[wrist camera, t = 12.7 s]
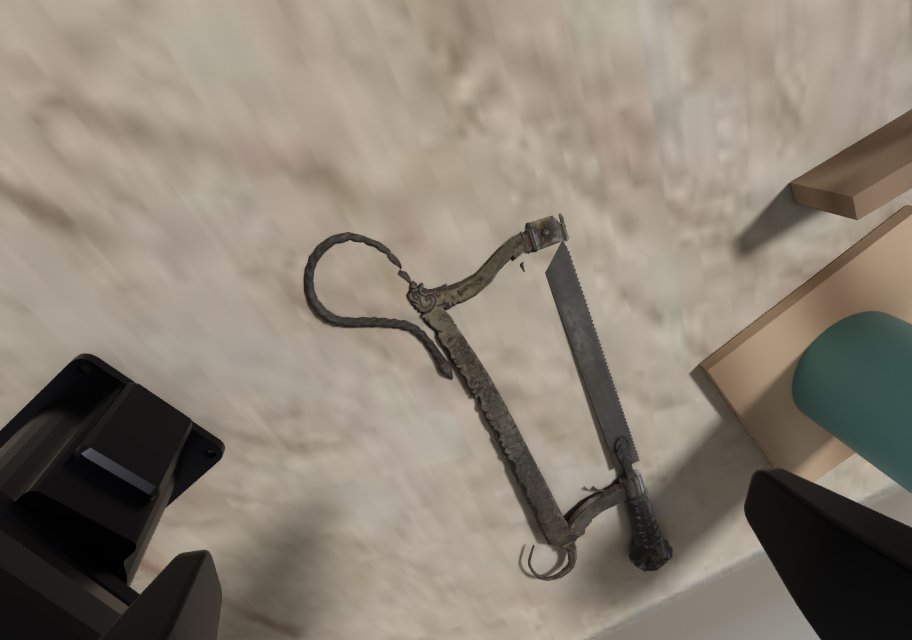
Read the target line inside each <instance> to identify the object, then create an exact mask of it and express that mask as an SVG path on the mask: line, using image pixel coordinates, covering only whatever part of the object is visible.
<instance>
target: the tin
mask: <svg viewBox="0 0 912 640" xmlns="http://www.w3.org/2000/svg"><path fill="white" fill-rule="evenodd" d="M792 396H793V400H794V403H795V405H796V406H797V408H798V409H799V410H800V411H801V412H802V413H803V414H804V415H806V416H807V417H808V418H810V419H811V420H812V421H814V422H815V423H817V424H818V425H819V426H821V427H822V428H823V429H825V430H826V431H827V432H829V433H830V434H831V435H833V436H834V437H836V438H837V439H838V440H840V441H841V442H842V443H844V444H845V445H846V446H848V447H849V448H850V449H852V450H853V451H855V452H856V453H857V454H859V455H860V456H861V457H863V458H864V459H865V460H867V461H868V462H869V463H871V464H872V465H874V466H875V467H876V468H878V469H879V470H880V471H882V472H883V473H884V474H886V475H887V476H888V477H890V478H891V479H893V480H894V481H895V482H897V483H898V484H899V485H901V486H902V487H903V488H905V489H906V490H907V491H909V492H910V493H912V324H911V323H908V322H906V321H904V320H901V319H899V318H897V317H894V316H892V315H890V314H887V313H884V312H880V311H865V312H861V313H856V314H853V315H850V316H848V317H846V318H844V319H841V320H840V321H838V322H836V323H834V324H833V325H832V326H830V327H829V328H827V329H826V330H825V331H824V332H822V333H821V334H820V335H819V336H818V337H817V338H816V339H815V340H814V341H813V342H812V343H811V344H810V346H809V347H808V348H807V350H806V351H805V352H804V354H803V355H802V357H801V359H800V361H799V362H798V365H797V367H796V369H795V372H794V376H793V381H792Z"/></svg>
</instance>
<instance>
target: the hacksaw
mask: <svg viewBox="0 0 912 640" xmlns="http://www.w3.org/2000/svg"><path fill="white" fill-rule="evenodd" d="M559 218H560V222H561V224H560V223H559V222H558V221H557V220H556V219H555V218H554V217H553V216H550V217H547V218H543V219H540V220H537V221H534V222H531V223H527V224H526V230H525V232H523V233H522V231H521V233H520V234H517V235H515V236H512V237H511V238H510V239H509V240H507V241H506V242H505V243H504V244H503V245H502V246H501V247H499V248H498V249H497V250H496V251H495V252H494V253H493V254H492V256H491V257H490V258H489V259H488V260H487V261H486V262H485V263H484V264H483V266H482V267H481V268H480V269H479V270H478V271H477V272H476V273H474V274H473V275H471V276H469V277H467V278H465V279H464V280H462V281H460V282H457V283H454V284H452V285H449V286H447V284H445V285H443V286H441V287H437V288H433V289H426V288H424V287H423V285H424V284H423V283H421V284H419V285H418V287H417V283H416V282H414V281H412V282H411V279H410V277H409V275H408V274H407V272H405V271H401V270H399V272H398V275H399V276H401V277H402V278H403V279H405V280H406V281H407V282H408V283H409V284H410V288H411V289H410V290H409V291H410V292H408V293H407V298H408V299H409V300H410V302H411V304H412V305H413V306H414V308H415V310H416V309H418V312H422V313H421V317H422V318H423V319H424V321H425V323H426V324H427V325H428V326H429V327H430V328H432V329H433V330H434V331H435V333H436V336H435V337H436V338H437V339H438V340H439V342H440V343H441V345H442V347H443V348H444V350H445V352H446V353H447V355H448V357H449V358H450V360H451V362H452V363H453V365H454V367H455V368H456V370H457V372H458V373H459V375H460V377H461V378H462V380H463V382H464V383H465V385H466V387H467V388H468V389H469V391H470V393H471V395H472V397H473V398H478V399H479V402H478V407H479V408H480V410H481V411H483V414H484V417H485V419H486V421H487V423H488V424H489V426H490V428H491V429H492V430H493V431H494V433H495V438H496V441H497V442H498V444H499V446H500V447H501V449H502V451H503V453H502V454H503V457H504V458H505V459H507V460H509V462H510V464H511V468H512V471H513V473H514V475H515V476H516V480H517V482H518V484H519V485H520V487H521V489H522V491H523V494H524V495H525V497H526V499H527V502H528V503H529V505H530V507H531V509H532V511H533V514H534V516H535V518H536V520H537V522H538V524H539V526H540V528H541V530H542V532H543V534H544V536H545V539H546V540H547V543H548V544H552V545H558V546H560V547H561V548H563V549H564V551H565V552H566V554H567V553H568V561H569V562H568V564H567V565H566V566H565V567H564V568H563V569H562V570H561V572H559V573H557V574H555V575H553V576H550V577H543V576H541V575H539V574H537V573H536V572H535V571H534V570H533V568H532V566H531V557H532V553H533V549H534V545H533V547H532V549H531V552H530V555H529V559H528V566H529V568H530V570H531V572H532V573H533V574H534V575H535V576H536V577H537V578H538V579H541V580H546V581H549V580H555V579H558V578H562V577H563V576H565V575H566V574H567V573H569V572H570V571H571V570H572V569H573V568H574V566H575V563H576V560H577V552H576V546H575V543H574V542H575V541H576V540H577V538H578V537H580V536H582V535H583V534H584V533H585V528H586V527H587V526H588V525H589V524H590V523H591V522H592V519H593V518H595V517H596V516H597V515H599V514H600V513H601V512H603V511H604V510H606V509H608V508H611V507H613V506H615V505H617V504H619V503H621V502H623V501H625V500H626V505H627V508H628V513H629V517H630V521H631V526H632V530H633V534H634V541H633V544H632V546H631V550H630V554H629V557H630V560H631V562H633V563H634V565H635V566H637V567H638V568H639V569H641V570H644V572H645V571H655V570H658V569H659V568H660V567H661V566H663V565H664V564H666V562H667V561H668V560H669V559H671V558H672V552H673V551H672V547H671V546H669V543H668V542H667V541H666V540H664V539H663V538H662V536H661V532H660V530H659V526H658V524H657V522H656V520H655V518H654V515H653V512H652V508H651V506H650V503H649V500H648V497H647V493H648V492H647V489H646V488H645V487H644V484H643V480H642V477H641V474H640V473H639V472H638V471H637V470H633V469H632V465H631V464H633V463H635V462H637V461H639V459H638V458H639V457H638V456H637V455H638V454H637V453H636V452H637V451H636V450H635V449H636V448H635V447H634V444H633V441H632V439H633V438H631V436H632V435H631V434H630V431H629V428H628V425H627V422H626V421H625V420H626V419H625V418H624V417H625V415H624V414H623V413H624V412H623V411H622V410H623V409H622V408H621V406H622V405H620V402H619V401H618V400H619V398H618V397H617V396H618V395H617V394H616V393H617V391H615V389H616V388H615V387H614V384H613V381H612V380H611V379H612V377H611V376H610V375H611V374H610V373H609V371H610V370H609V369H608V366H607V365H606V364H607V362H605V360H606V359H605V358H604V356H605V355H604V354H603V351H602V347H600V345H601V344H600V343H599V340H598V336H597V335H596V334H597V332H595V328H594V324H593V323H592V322H593V320H592V319H591V316H590V312H589V311H588V309H589V308H588V307H587V304H586V300H585V299H584V295H583V294H582V293H583V291H582V290H581V288H582V287H581V286H579V285H580V282H578V279H579V278H577V274H576V273H575V271H576V270H575V269H574V265H573V264H572V262H573V261H572V260H571V256H570V255H569V253H570V252H569V251H567V247H566V246H565V244H564V241H563V240H565V241H568V240H569V236H568V234H567V231H566V226H565V224H564V218H563V216H562V215H561V214H559ZM349 240H351V241H353V242H364V243H365V244H367V245H370V246H374V247H375V248H377V249H378V250H379V251H381V252H383V253H386V254H387V257H388V258H389V259H390V260H391V262H392V263H393V264H395V265H397V266H398V267H399V268H400V269H401V268H402V267H401V263H400V262H399V260H398V259H397V258H396V256H395V255H393V254H392V253H391V251H390V250H389V249H388V248H387V247H386V246H384V245H383V244H382V243H380V242H378V241H375V240H372V239H370V238H367V237H365V236H362V235H358V234H354V233H350V232H347V233H342V234H337V235H333V236H331V237H329V238H327V239H326V240H324V241H323V242H322V243H320V244H319V245H317V247H316V248H315V250H314V251H313V253H312V254H311V255H310V256H309V260H308V263H307V265H306V267H305V275H304V284H305V285H304V291H305V293H306V295H307V299H308V302H309V303H310V305H311V306H312V307H313V308H314V310H315V311H316V312H317V314H318V315H319V316H321V317H322V318H324V319H325V320H326V321H327V322H331V323H333V324H335V325H340V326H346V327H357V326H361V327H367V326H371V327H377V326H382V327H392V328H401V329H403V330H409V331H411V332H412V333H414V334H415V335H416V336H417V337H418V338H419V339H420V340H422V341H423V343H424V344H425V345H426V347H427V348H428V349H429V351H430V352H431V353H432V355H433V357H434V360H435V361H436V362H437V364H438V368H439V370H440V372H441V373H442V374H443V375H445V376H447V377H448V378H450V379H451V380H452V379H453V375H452V367H451V365H450V363H449V362H448V361H447V360H446V359H445V358H444V357H443V355H442V354H441V353H440V351H439V350H438V348H437V347H436V345H435V344H434V343H433V341H432V340H431V339H430V338H428V336H427V334H426V333H425V332H424V331H423V330H421V329H420V328H419V327H418V326H416V325H414V324H412V323H410V322H408V321H405V320H402V321H400V320H397V319H387V318H376V317H372V318H367V317H360V318H350V317H340V316H337V315H334V314H333V313H331V312H330V311H328V310H326V308H325V307H324V306H323V305H322V303H321V302H320V301H318V298H317V296H316V293H315V291H314V283H313V278H314V270H315V267H316V264H317V262H318V261H319V259H320V258H321V256H322V255H323V254H324V253H325V252H326V251H327V250H328V249H329V248H331V247H332V246H333V245H335V244H337V243H343V242H346V241H349ZM560 241H562V242H561V244H560V246H559V248H558V250H557V252H556V254H555V255H554V257H553V259H552V261H551V263H550V265H549V267H548V269H547V270H546V272H545V274H546V277H547V279H548V282H549V285H550V288H551V290H552V293H553V296H554V299H555V301H556V304H557V307H558V310H559V312H560V315H561V318H562V321H563V324H564V326H565V329H566V332H567V335H568V337H569V340H570V343H571V346H572V348H573V351H574V354H575V357H576V359H577V362H578V365H579V368H580V370H581V373H582V376H583V379H584V381H585V384H586V387H587V389H588V392H589V395H590V398H591V400H592V403H593V406H594V409H595V411H596V414H597V417H598V419H599V422H600V425H601V428H602V430H603V433H604V436H605V439H606V441H607V444H608V447H609V449H610V452H611V455H612V458H613V460H614V463H615V466H616V468H617V470H619V469H621V468H624V474H622V475H621V476H620V477H619V483H618V484H615V485H613V486H611V487H609V488H608V489H606V490H600V489H597V488H595V487H594V486H593V487H592V488H591V490H597V491H602V492H600V493H598V494H597V495H595V496H593V497H591V498H590V499H589V500H587V501H586V502H585V503H584V504H583V505H582V506H581V507H579V508H578V509H577V510H576V511H575V512H574V513H573V514H572V516H571V517H570V518H569V520H568V521H566V520H565V519H564V517H563V515H562V513H561V511H560V510H559V508H558V505H557V503H556V501H555V499H554V497H553V496H552V494H551V492H550V490H549V488H548V486H547V484H546V482H545V480H544V478H543V476H542V474H541V472H540V470H539V469H538V467H537V465H536V463H535V461H534V459H533V457H532V455H531V453H530V451H529V449H528V447H527V446H526V444H525V442H524V440H523V438H522V436H521V434H520V432H519V430H518V428H517V426H516V424H515V423H514V420H513V418H512V416H511V415H510V413H509V411H508V409H507V407H506V405H505V403H504V401H503V399H502V398H501V396H500V394H499V392H498V390H497V389H496V387H495V385H494V384H493V382H492V380H491V378H490V376H489V374H488V373H487V371H486V370H485V368H484V367H483V365H482V363H481V362H480V360H479V359H478V357H477V355H476V354H475V352H474V351H473V350H472V349H471V347H470V346H469V345H468V343H467V341H466V339H465V338H464V336H463V335H462V334H461V332H460V331H459V330H458V328H457V326H456V324H454V321H453V320H452V318H451V317H450V315H449V314H448V313H447V312H446V311H445V310H444V309H450V308H452V305H453V306H455V305H456V304H459V303H462V302H465V301H467V300H469V299H470V298H472V297H474V296H476V295H477V294H478V293H479V292H480V291H482V290H483V289H484V288H485V287H486V286H487V285H488V284H489V283H491V282H492V281H493V279H494V277H495V276H496V274H497V273H498V271H499V270H500V269H501V268H502V267H503V266H504V265H505V264H506V263H507V262H508V261H509V260H510V259H512V261H513V260H515V259H516V258H517V257H518V256H520V255H521V254H522V253H523V252H525V251H528V252H529V253H530V252H537V250H539V249H542V248H544V247H547V246H550V245H552V244H555V243H558V242H560ZM523 263H524V262H522V263H521V264H520V267H521V268H522V270H523V271H524V266H523ZM524 272H525V271H524Z"/></svg>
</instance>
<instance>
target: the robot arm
mask: <svg viewBox="0 0 912 640" xmlns="http://www.w3.org/2000/svg"><path fill="white" fill-rule="evenodd" d="M81 365H86V366H88V367H89V368H90V369H91V371H85V370H83V369H82V368H81ZM210 448H211V449H213V450H215V451H216V452H208V451H207V450H206V449H210ZM224 450H225V446H224V443H223V442H222V441H221V440H219V439H218V438H217V437H215V436H214V435H212V434H211V433H209V432H208V431H206V430H205V429H203V428H202V427H200V426H199V425H197V424H196V423H194V422H193V421H191V419H190V418H189V417H187V416H186V415H184V414H183V413H181V412H180V411H178V410H177V409H175V408H174V407H172V406H171V405H169V404H168V403H166V402H165V401H163V400H162V399H160V398H159V397H158V396H156V395H155V394H153V393H152V392H150V391H149V390H147V389H146V388H144V387H143V386H141V385H140V384H137V383H135V382H134V381H132V380H131V379H129V378H128V377H126V376H125V375H123V374H122V373H120V372H119V371H117V370H116V369H114V368H113V367H111V366H110V365H108V364H107V363H105V362H104V361H102V360H101V359H100V358H98V357H96V356H94V355H92V354H86V353H85V354H80V355H78V356H77V357H75V358H74V359H73V360H72V361H71V362H70V363H69V364H68V365H67V366H66V367H65V368H64V369H63V370H62V371H61V372H60V373H59V374H58V375H57V376H56V377H55V378H54V379H53V380H52V381H51V382H50V383H49V384H48V385H47V386H46V387H45V388H44V389H43V390H41V391H40V392H39V393H38V394H37V395H36V396H35V397H34V398H33V399H32V400H31V401H30V402H29V403H28V404H27V405H26V406H25V407H24V408H23V409H22V410H21V411H20V412H19V413H18V414H17V415H16V416H15V417H14V418H13V419H12V420H11V421H10V422H9V423H8V424H7V425H6V426H5V427H4V428H3V429H2V430H1V431H0V640H216V639H217V632H218V625H219V618H220V611H221V603H222V591H221V585H220V582H219V579H218V575H217V572H216V568H215V565H214V562H213V558H212V555H211V554H210V552H209V551H207V550H199V551H192V552H185V553H181V554H179V555H178V556H176V557H175V558H174V559H173V560H172V561H171V562H170V563H169V564H168V565H167V566H166V567H165V569H164V570H163V571H162V572H161V573H160V574H159V575H158V576H157V577H156V578H155V579H154V580H153V581H152V583H151V584H150V585H149V586H148V587H147V588H146V589H145V590H144V591H143V592H142V593H141V594H139V593H137V592H136V591H135V590H133V589H132V588H131V587H130V585H131V583H132V580H133V578H134V576H135V574H136V571H137V569H138V567H139V565H140V563H141V560H142V558H143V556H144V554H145V552H146V549H147V547H148V545H149V543H150V541H151V538H152V536H153V534H154V532H155V530H156V527H157V525H158V523H159V521H160V519H161V516H162V514H163V512H164V510H165V508H166V507H167V506H168V505H170V504H171V503H172V502H173V501H174V500H175V499H176V498H177V497H179V496H180V495H181V494H182V493H183V492H184V491H185V490H187V489H188V488H189V487H190V486H191V485H192V484H193V483H194V482H196V481H197V480H198V479H199V478H200V477H201V476H202V475H204V474H205V473H206V472H207V471H208V470H209V469H210V468H212V467H213V466H214V465H215V464H216V463H217V462H218V461H219V460H220V459H221V458H222V456H223V453H224ZM744 512H745V516H746V518H747V521H748V523H749V524H750V526H751V528H752V529H753V531H754V533H755V535H756V536H757V538H758V540H759V541H760V543H761V545H762V547H763V548H764V550H765V552H766V554H767V555H768V557H769V559H770V560H771V562H772V564H773V566H774V567H775V569H776V571H777V572H778V574H779V576H780V578H781V579H782V581H783V583H784V584H785V586H786V588H787V590H788V591H789V593H790V595H791V596H792V598H793V599H794V601H795V603H796V604H797V606H798V607H799V609H800V610H801V612H802V613H803V615H804V616H805V618H806V619H807V621H808V622H809V624H810V625H811V626H812V628H813V629H814V631H815V632H816V634H817V635H818V636H819V638H820V639H821V640H912V527H910V526H907V525H905V524H903V523H901V522H899V521H896V520H894V519H892V518H889V517H887V516H885V515H883V514H881V513H879V512H877V511H874V510H872V509H870V508H868V507H866V506H863V505H861V504H859V503H857V502H855V501H852V500H850V499H848V498H846V497H844V496H842V495H839V494H837V493H835V492H833V491H831V490H828V489H826V488H824V487H822V486H820V485H817V484H815V483H813V482H811V481H809V480H806V479H804V478H802V477H800V476H798V475H795V474H793V473H791V472H789V471H787V470H784V469H782V468H768V469H761V470H757V471H755V472H754V474H753V475H752V478H751V481H750V485H749V489H748V492H747V496H746V500H745V504H744Z"/></svg>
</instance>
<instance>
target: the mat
mask: <svg viewBox="0 0 912 640" xmlns="http://www.w3.org/2000/svg"><path fill="white" fill-rule="evenodd" d="M865 311H880V312H884V313H887V314H890V315H892V316H894V317H897V318H899V319H901V320H904V321H906V322H908V323H911V324H912V206H909V205H906V206H905V207H904V208H902V209H901V210H900V211H898V212H897V213H896V214H894V215H893V216H892V217H891V218H889V219H888V220H887V221H885V222H884V223H883V224H881V225H880V226H879V227H878V228H876V229H875V230H874V231H872V232H871V233H870V234H868V235H867V236H866V237H864V238H863V239H862V240H861V241H859V242H858V243H857V244H855V245H854V246H853V247H851V248H850V249H849V250H848V251H846V252H845V253H844V254H842V255H841V256H840V257H838V258H837V259H836V260H835V261H833V262H832V263H831V264H829V265H828V266H827V267H825V268H824V269H823V270H822V271H820V272H819V273H818V274H816V275H815V276H814V277H812V278H811V279H810V280H809V281H807V282H806V283H805V284H803V285H802V286H801V287H799V288H798V289H797V290H796V291H794V292H793V293H792V294H790V295H789V296H788V297H786V298H785V299H784V300H783V301H781V302H780V303H779V304H777V305H776V306H775V307H773V308H772V309H771V310H770V311H768V312H767V313H766V314H764V315H763V316H762V317H760V318H759V319H758V320H757V321H755V322H754V323H753V324H751V325H750V326H749V327H747V328H746V329H745V330H744V331H742V332H741V333H740V334H738V335H737V336H736V337H734V338H733V339H732V340H731V341H729V342H728V343H727V344H725V345H724V346H723V347H721V348H720V349H719V350H718V351H716V352H715V353H714V354H712V355H711V356H710V357H708V358H707V359H706V360H704V361H703V362H702V363H701V364H700V365H701V367H702V368H703V370H704V371H705V372H706V374H707V375H708V376H709V378H710V379H711V381H712V382H713V383H714V385H715V386H716V388H717V389H718V390H719V392H720V393H721V394H722V396H723V397H724V399H725V400H726V401H727V403H728V404H729V406H730V407H731V408H732V410H733V411H734V412H735V414H736V415H737V417H738V418H739V419H740V421H741V422H742V424H743V425H744V426H745V428H746V429H747V430H748V432H749V433H750V435H751V436H752V437H753V439H754V440H755V442H756V443H757V444H758V446H759V447H760V448H761V450H762V451H763V453H764V454H765V455H766V457H767V458H768V460H769V461H770V462H771V464H772V465H773V466H774V468H782V469H784V470H787V471H789V472H791V473H793V474H795V475H798V476H800V477H802V478H804V479H806V480H809V481H811V482H814V481H816V480H817V479H819V478H820V477H822V476H823V475H824V474H826V473H827V472H829V471H830V470H832V469H833V468H834V467H836V466H837V465H839V464H840V463H842V462H843V461H844V460H846V459H847V458H849V457H850V456H852V455H853V454H854V453H856V452H855V451H853V450H852V449H850V448H849V447H848V446H846V445H845V444H844V443H842V442H841V441H840V440H838V439H837V438H836V437H834V436H833V435H831V434H830V433H829V432H827V431H826V430H825V429H823V428H822V427H821V426H819V425H818V424H817V423H815V422H814V421H812V420H811V419H810V418H808V417H807V416H806V415H804V414H803V413H802V412H801V411H800V410H799V409H798V408H797V406H796V405H795V403H794V400H793V396H792V381H793V376H794V372H795V369H796V367H797V365H798V362H799V361H800V359H801V357H802V355H803V354H804V352H805V351H806V350H807V348H808V347H809V346H810V344H811V343H812V342H813V341H814V340H815V339H816V338H817V337H818V336H819V335H820V334H821V333H822V332H824V331H825V330H826V329H827V328H829V327H830V326H832V325H833V324H834V323H836V322H838V321H840V320H841V319H844V318H846V317H848V316H850V315H853V314H856V313H861V312H865Z"/></svg>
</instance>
